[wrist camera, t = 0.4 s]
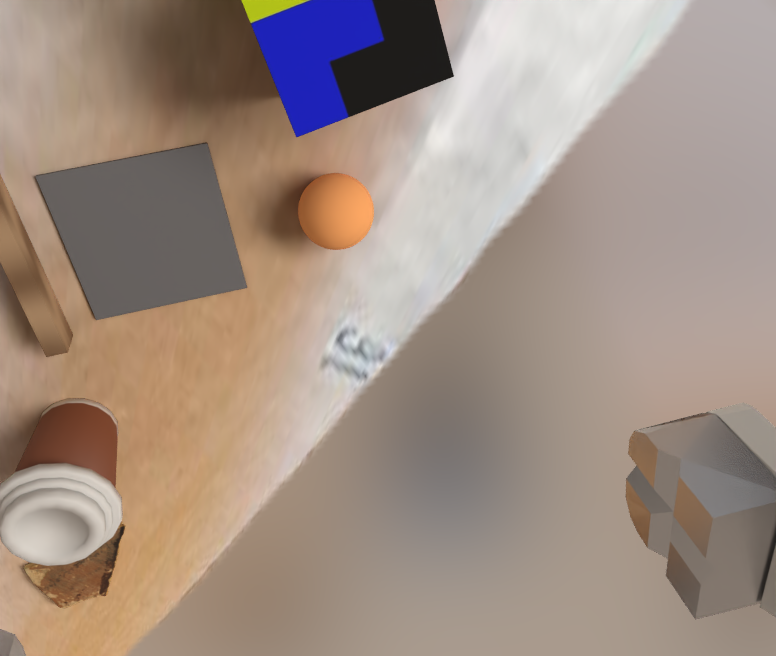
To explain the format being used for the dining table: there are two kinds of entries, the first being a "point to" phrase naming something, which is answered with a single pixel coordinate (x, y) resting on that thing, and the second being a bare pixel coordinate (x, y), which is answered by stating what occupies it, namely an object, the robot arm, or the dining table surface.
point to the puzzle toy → (347, 54)
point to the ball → (335, 211)
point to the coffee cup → (64, 486)
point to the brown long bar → (30, 280)
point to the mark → (145, 230)
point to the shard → (78, 574)
